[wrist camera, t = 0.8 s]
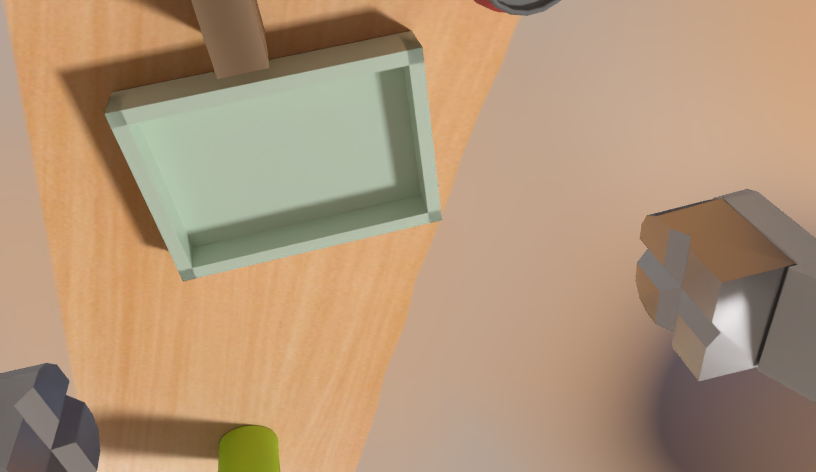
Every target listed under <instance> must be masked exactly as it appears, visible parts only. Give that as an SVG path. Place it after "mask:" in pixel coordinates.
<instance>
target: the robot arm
mask: <svg viewBox="0 0 816 472" xmlns="http://www.w3.org/2000/svg"><path fill="white" fill-rule="evenodd" d="M640 239H641V241H642V242H643V243H644V244H645V246H646V247H647V248H648V249H647V250H646V252H645V253H644V254H643V256H642V257H641V258H640V260H639V261H638V262H637V268H636V285H637V289H638V293H639V298H640V300H641V302H642V304H643V306H644V308H645V310H646V312H647V313H648V315H649V316H650V318H651V319H652V320H653V322H654V323H655V324H657V325H659V326H661V327H663V328H666V329H668V330H670V331H672V332H674V334H673V342H672V347H673V348H674V349H675V351H676V352H677V353H678V355H680V357H681V359H682V360H683V361H684V362H685V364H686V365H687V366H688V368H689V369H690V370H691V372H692V373H693V374H694V375H695V377H696V378H697V379H698V380H699V381H701V380H706V379H710V378H713V377H718V376H722V375H726V374H730V373H734V372H738V371H742V370H746V369H750V368H754V367H758V368H757V370H758V371H760V372H762V373H763V374H765V375H767V376H769V377H770V378H772V379H774V380H776V381H777V382H779V383H781V384H783V385H785V386H786V387H788V388H790V389H792V390H793V391H795V392H797V393H799V394H801V395H803V396H804V397H806V398H808V399H809V400H811V401H813V402H815V403H816V238H815V237H814V236H812V235H811V234H810V233H809V232H807V231H806V230H805V229H803V228H802V227H801V226H800V225H799V224H797V223H796V222H795V221H794V220H792V219H791V218H790V217H789V216H787V215H786V214H785V213H784V212H782V211H781V210H780V209H779V208H777V207H776V206H775V205H774V204H772V203H771V202H770V201H769V200H767V199H766V198H765V197H764V196H762V195H761V194H760V193H759V192H756V191H753V190H749V189H745V190H742V191H738V192H734V193H730V194H726V195H722V196H719V197H715V198H713V199H711V200H706V201H702V202H698V203H694V204H690V205H686V206H682V207H678V208H674V209H670V210H666V211H662V212H658V213H654V214H650V215H647V216H646V218H645V219H644V221H643V223H642V226H641V233H640ZM68 385H69V380H68V378H67V377H66V376H65V374H64V373H63V372H62V371H61V369H60V368H59V367H58V366H57V365H56V364H49V363H44V364H40V365H35V366H31V367H26V368H22V369H18V370H13V371H9V372H5V373H0V472H96V471H97V468H98V462H99V456H100V442H99V430H98V427H97V424H96V422H95V419H94V416H93V414H92V413H91V411H90V410H89V408H88V407H87V405H86V404H85V402H82V401H80V400H77V399H75V398H72V397H70V396H67V395H66V393H67V389H68Z"/></svg>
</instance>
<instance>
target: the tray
mask: <svg viewBox="0 0 816 472" xmlns="http://www.w3.org/2000/svg"><path fill="white" fill-rule="evenodd" d="M269 67H270V68H267V69H262V70H257V71H252V72H248V73H243V74H238V75H233V76H228V77H224V78H219V79H217V77H216V74H215V71H214V72H209V73H204V74H199V75H194V76H189V77H184V78H180V79H175V80H170V81H165V82H160V83H155V84H150V85H146V86H141V87H136V88H131V89H126V90H121V91H117V92H112V93H111V96H110V99H109V102H108V105H107V108H106V111H105V116H106V119H107V121H108V123H109V125H110V127H111V129H112V131H113V133H114V136H115V138H116V140H117V142H118V144H119V146H120V148H121V150H122V153H123V155H124V157H125V159H126V161H127V163H128V165H129V167H130V170H131V172H132V174H133V176H134V178H135V180H136V182H137V184H138V187H139V189H140V191H141V193H142V195H143V197H144V199H145V201H146V204H147V206H148V208H149V210H150V212H151V214H152V216H153V218H154V221H155V223H156V225H157V227H158V229H159V231H160V233H161V235H162V238H163V240H164V242H165V244H166V246H167V248H168V250H169V252H170V255H171V257H172V259H173V261H174V263H175V265H176V267H177V269H178V271H179V274H180V276H181V278H182V280H183V281H187V280H191V279H195V278H199V277H203V276H208V275H212V274H216V273H220V272H225V271H229V270H233V269H237V268H242V267H246V266H250V265H254V264H258V263H263V262H267V261H271V260H275V259H280V258H284V257H288V256H292V255H296V254H301V253H305V252H309V251H313V250H318V249H322V248H326V247H330V246H334V245H339V244H343V243H347V242H351V241H356V240H360V239H364V238H368V237H373V236H377V235H381V234H385V233H389V232H394V231H398V230H402V229H406V228H411V227H415V226H419V225H423V224H427V223H432V222H436V221H440V220H442V217H441V208H440V199H439V190H438V181H437V172H436V163H435V155H434V146H433V137H432V128H431V119H430V110H429V101H428V92H427V83H426V75H425V66H424V57H423V48H422V46H421V44H420V43H419V41H418V40H417V38H416V37H415V35H414V34H413V32H412V31H407V32H403V33H398V34H393V35H388V36H383V37H378V38H373V39H369V40H364V41H359V42H354V43H349V44H344V45H340V46H335V47H330V48H325V49H320V50H315V51H310V52H306V53H301V54H296V55H291V56H286V57H281V58H277V59H272V60H269Z"/></svg>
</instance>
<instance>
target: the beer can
mask: <svg viewBox="0 0 816 472" xmlns="http://www.w3.org/2000/svg"><path fill="white" fill-rule="evenodd" d="M474 1H475V2H476V3H478V4H480V5H482V6H484V7H486V8H489V9H491V10H493V11H497V12H505V13H508V14H511V15H526V16H527V15H531V14H535V13H539V12H543V11H545V10H547V9H548V8H550V7H552V6H553V5H555V4H557V3H558V2H559V1H561V0H474Z"/></svg>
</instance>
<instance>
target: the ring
mask: <svg viewBox="0 0 816 472" xmlns="http://www.w3.org/2000/svg"><path fill="white" fill-rule="evenodd" d="M191 2H192V5H193V8H194V11H195V14H196V17H197V20H198V23H199V26H200V29H201V32H202V35H203V38H204V41H205V44H206V47H207V50H208V53H209V56H210V59H211V62H212V65H213V68H214V71H215V74H216V77H217V79H219V78H224V77H228V76H233V75H238V74H243V73H248V72H252V71H257V70H262V69H267V68H270V67H269V59H268V51H267V43H266V36H265V30H264V26H263V22H262V19H261V15H260V11H259V7H258V4H257V0H191Z"/></svg>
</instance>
